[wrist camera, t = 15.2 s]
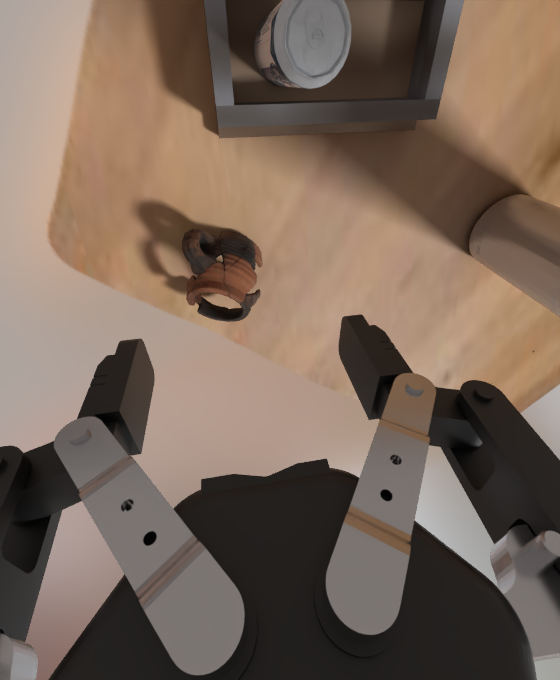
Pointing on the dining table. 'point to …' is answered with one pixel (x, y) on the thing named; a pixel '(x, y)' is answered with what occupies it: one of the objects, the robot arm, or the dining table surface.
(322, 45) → the beer can
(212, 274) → the broken pottery vessel
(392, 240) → the dining table surface
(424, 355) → the dining table surface
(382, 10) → the frame
